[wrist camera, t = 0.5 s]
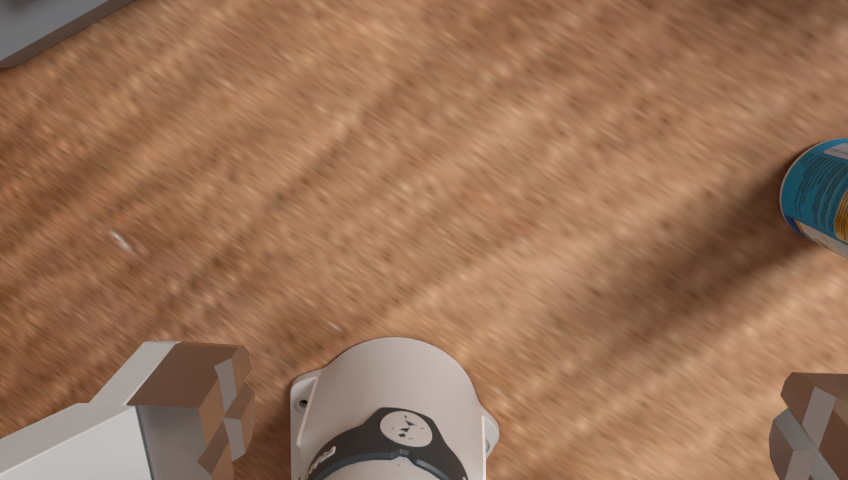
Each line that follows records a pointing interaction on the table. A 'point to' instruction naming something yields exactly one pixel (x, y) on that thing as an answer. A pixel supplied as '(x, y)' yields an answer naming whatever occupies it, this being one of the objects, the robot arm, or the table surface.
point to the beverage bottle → (819, 195)
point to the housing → (45, 24)
